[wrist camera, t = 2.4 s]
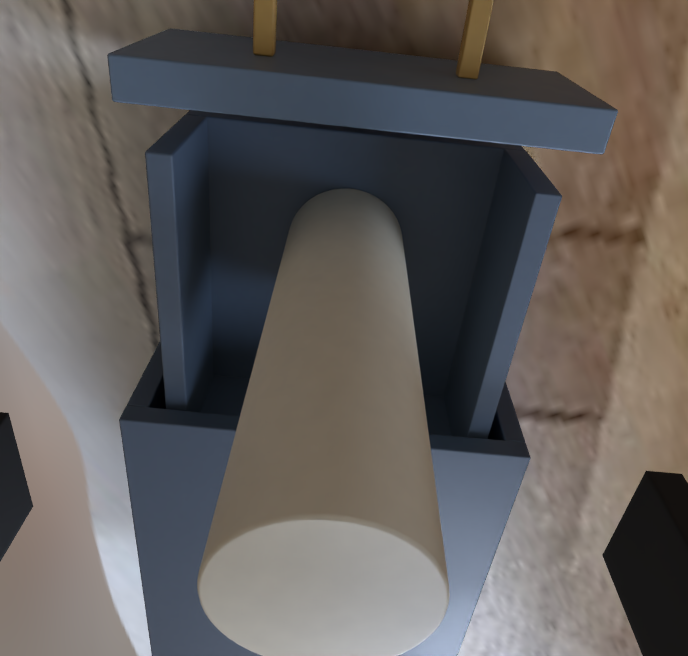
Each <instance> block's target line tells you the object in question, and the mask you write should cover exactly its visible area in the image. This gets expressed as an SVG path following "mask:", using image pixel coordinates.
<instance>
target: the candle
mask: <svg viewBox="0 0 688 656" xmlns="http://www.w3.org/2000/svg"><path fill="white" fill-rule="evenodd" d="M197 589H198V595H199V599H200V603H201V606H202V608H203V610H204V612H205V614H206V615H207V617H208V618H209V620H210V621H211V622H212V623H213V624H214V626H215V627H216V628H217V629H218V630H219V631H220V632H222V633H223V634H224V635H225V636H227V637H228V638H229V639H231V640H232V641H234V642H235V643H237V644H238V645H240V646H242V647H244V648H246V649H248V650H250V651H252V652H254V653H257V654H259V655H262V656H398V655H400V654H403V653H405V652H406V651H408V650H410V649H412V648H414V647H416V646H417V645H419V644H420V643H422V642H423V641H424V640H425V639H427V638H428V637H429V636H430V635H431V634H432V633H433V632H434V631H435V630H436V629H437V627H438V626H439V625H440V623H441V621H442V620H443V618H444V616H445V613H446V610H447V607H448V604H449V596H450V592H449V582H448V574H447V567H446V559H445V552H444V545H443V537H442V530H441V522H440V515H439V507H438V500H437V492H436V485H435V477H434V470H433V463H432V455H431V448H430V440H429V433H428V425H427V418H426V410H425V403H424V395H423V388H422V381H421V373H420V366H419V358H418V351H417V343H416V336H415V328H414V321H413V313H412V306H411V299H410V291H409V284H408V276H407V269H406V261H405V254H404V246H403V239H402V232H401V228H400V225H399V223H398V220H397V218H396V217H395V215H394V213H393V212H392V211H391V209H390V208H389V207H388V206H387V205H386V204H385V203H384V202H382V201H381V200H380V199H378V198H377V197H375V196H373V195H371V194H369V193H366V192H364V191H360V190H356V189H348V188H347V189H333V190H329V191H326V192H323V193H321V194H318V195H316V196H315V197H313V198H311V199H310V200H309V201H307V202H306V203H305V204H304V205H303V206H302V207H301V208H300V209H299V211H298V212H297V213H296V215H295V217H294V219H293V220H292V223H291V226H290V229H289V233H288V237H287V241H286V244H285V248H284V252H283V256H282V259H281V263H280V267H279V271H278V275H277V278H276V282H275V286H274V290H273V293H272V297H271V301H270V305H269V309H268V312H267V316H266V320H265V324H264V327H263V331H262V335H261V339H260V343H259V346H258V350H257V354H256V358H255V361H254V365H253V369H252V373H251V377H250V380H249V384H248V388H247V392H246V395H245V399H244V403H243V407H242V411H241V414H240V418H239V422H238V426H237V429H236V433H235V437H234V441H233V445H232V448H231V452H230V456H229V460H228V463H227V467H226V471H225V475H224V479H223V482H222V486H221V490H220V494H219V497H218V501H217V505H216V509H215V513H214V516H213V520H212V524H211V528H210V531H209V535H208V539H207V543H206V547H205V550H204V554H203V558H202V562H201V566H200V569H199V574H198V579H197Z"/></svg>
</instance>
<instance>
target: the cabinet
mask: <svg viewBox="0 0 688 656" xmlns="http://www.w3.org/2000/svg"><path fill="white" fill-rule="evenodd" d="M239 418H240V416H234V415H223V414H212V413H201V412H191V411H180V410H169V409H166V402H165V390H164V378H163V366H162V354H161V341H160V342H159V344H158V346H157V348H156V350H155V352H154V354H153V356H152V358H151V360H150V362H149V364H148V365H147V367H146V369H145V371H144V373H143V375H142V377H141V379H140V381H139V383H138V385H137V387H136V389H135V390H134V392H133V394H132V396H131V398H130V400H129V402H128V404H127V406H126V408H125V410H124V412H123V413H122V415H121V417H120V419H119V421H120V429H121V436H122V443H123V450H124V457H125V465H126V472H127V479H128V486H129V493H130V501H131V508H132V515H133V522H134V529H135V537H136V544H137V551H138V558H139V566H140V573H141V580H142V587H143V594H144V602H145V609H146V616H147V623H148V630H149V638H150V645H151V652H152V656H262V655H259V654H257V653H254V652H252V651H250V650H248V649H246V648H244V647H242V646H240V645H238V644H237V643H235V642H234V641H232V640H231V639H229V638H228V637H227V636H225V635H224V634H223V633H222V632H220V631H219V630H218V629H217V628H216V627H215V626H214V624H213V623H212V622H211V621H210V620H209V618H208V617H207V615H206V614H205V612H204V610H203V608H202V606H201V603H200V599H199V595H198V589H197V579H198V574H199V569H200V566H201V562H202V558H203V554H204V550H205V547H206V543H207V539H208V535H209V531H210V528H211V524H212V520H213V516H214V513H215V509H216V505H217V501H218V497H219V494H220V490H221V486H222V482H223V479H224V475H225V471H226V467H227V463H228V460H229V456H230V452H231V448H232V445H233V441H234V437H235V433H236V429H237V426H238V422H239ZM429 440H430V448H431V455H432V463H433V470H434V477H435V485H436V492H437V500H438V507H439V515H440V522H441V530H442V537H443V545H444V552H445V559H446V567H447V574H448V582H449V592H450V596H449V604H448V607H447V610H446V613H445V616H444V618H443V620H442V621H441V623H440V625H439V626H438V627H437V629H436V630H435V631H434V632H433V633H432V634H431V635H430V636H429V637H428V638H427V639H425V640H424V641H423V642H422V643H420V644H419V645H417V646H416V647H414V648H412V649H410V650H408V651H406V652H405V653H403V654H400V655H398V656H457V655H458V653H459V650H460V647H461V645H462V642H463V639H464V636H465V634H466V631H467V628H468V626H469V623H470V620H471V617H472V615H473V612H474V609H475V607H476V604H477V601H478V599H479V596H480V593H481V590H482V588H483V585H484V582H485V580H486V577H487V574H488V571H489V569H490V566H491V563H492V561H493V558H494V555H495V553H496V550H497V547H498V544H499V542H500V539H501V536H502V534H503V531H504V528H505V525H506V523H507V520H508V517H509V515H510V512H511V509H512V507H513V504H514V501H515V498H516V496H517V493H518V490H519V488H520V485H521V482H522V479H523V477H524V474H525V471H526V469H527V466H528V463H529V460H530V455H529V452H528V449H527V445H526V443H525V440H524V437H523V434H522V431H521V428H520V425H519V421H518V418H517V415H516V412H515V409H514V406H513V403H512V400H511V397H510V394H509V391H508V388H507V385H506V382H505V383H504V386H503V390H502V393H501V396H500V399H499V403H498V406H497V409H496V412H495V416H494V419H493V422H492V425H491V429H490V432H489V435H488V438H487V439H480V438H470V437H459V436H448V435H437V434H429Z"/></svg>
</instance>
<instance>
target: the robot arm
mask: <svg viewBox="0 0 688 656" xmlns="http://www.w3.org/2000/svg"><path fill="white" fill-rule="evenodd" d="M32 507H33V504H32V501H31V496H30V493H29V489H28V486H27V481H26V478H25V474H24V470H23V466H22V463H21V459H20V455H19V451H18V447H17V443H16V440H15V436H14V432H13V428H12V425H11V421H10V417H9V413H2V412H0V561H1V559H2V558H3V556H4V554H5V553H6V551H7V549H8V548H9V546H10V544H11V543H12V541H13V539H14V537H15V536H16V534H17V532H18V531H19V529H20V527H21V526H22V524H23V522H24V521H25V519H26V517H27V516H28V514H29V512H30V511H31V509H32ZM603 558H604V560H605V563H606V565H607V568H608V570H609V573H610V575H611V578H612V580H613V583H614V585H615V588H616V590H617V593H618V595H619V598H620V600H621V603H622V605H623V608H624V610H625V613H626V615H627V618H628V620H629V623H630V625H631V628H632V630H633V633H634V635H635V638H636V640H637V643H638V645H639V648H640V650H641V653H642V655H643V656H688V483H687V481H686V480H685V478H684V477H683V475H682V474H675V473H664V472H653V471H646V472H645V474H644V476H643V478H642V480H641V482H640V484H639V486H638V487H637V489H636V491H635V493H634V495H633V497H632V499H631V501H630V503H629V505H628V507H627V509H626V511H625V513H624V515H623V517H622V518H621V520H620V522H619V524H618V526H617V528H616V530H615V532H614V534H613V536H612V538H611V540H610V542H609V544H608V546H607V548H606V549H605V551H604V553H603Z"/></svg>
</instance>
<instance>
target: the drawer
mask: <svg viewBox="0 0 688 656" xmlns="http://www.w3.org/2000/svg"><path fill="white" fill-rule="evenodd" d="M493 2H494V0H469V4H468V9H467V14H466V20H465V25H464V30H463V36H462V41H461V47H460V52H459V57H458V61H456V60H447V59H439V58H430V57H421V56H412V55H403V54H394V53H385V52H376V51H367V50H358V49H349V48H340V47H331V46H322V45H314V44H305V43H296V42H287V41H278V40H276V23H277V0H254V12H253V38H251V37H242V36H233V35H224V34H215V33H206V32H197V31H189V30H180V29H171V28H170V29H167V30H165V31H163V32H160V33H158V34H155V35H153V36H150V37H148V38H146V39H143V40H141V41H138V42H136V43H133V44H131V45H128V46H126V47H124V48H121V49H119V50H116V51H114V52H111V53H109V54H108V66H109V75H110V84H111V94H112V100H113V101H114V102H121V103H130V104H140V105H149V106H158V107H167V108H177V109H186V110H190V111H189V112H188V113H187V114H186V115H184V116H183V117H182V118H181V119H180V120H179V121H178V122H177V123H176V124H175V125H174V126H173V127H172V128H170V129H169V130H168V131H167V132H166V133H165V134H164V135H163V136H162V137H161V138H160V139H159V140H158V141H156V142H155V143H154V144H153V145H152V146H151V147H150V148H149V149H148V150H147V151H146V152H145V158H146V170H147V182H148V195H149V207H150V219H151V231H152V243H153V256H154V268H155V280H156V292H157V305H158V317H159V329H160V341H161V354H162V366H163V378H164V390H165V402H166V409H169V410H180V411H191V412H201V413H212V414H223V415H234V416H240V414H241V411H242V407H243V403H244V399H245V395H246V392H247V388H248V384H249V380H250V377H251V373H252V369H253V365H254V361H255V358H256V354H257V350H258V346H259V343H260V339H261V335H262V331H263V327H264V324H265V320H266V316H267V312H268V309H269V305H270V301H271V297H272V293H273V290H274V286H275V282H276V278H277V275H278V271H279V267H280V263H281V259H282V256H283V252H284V248H285V244H286V241H287V237H288V233H289V229H290V226H291V223H292V220H293V219H294V217H295V215H296V213H297V212H298V211H299V209H300V208H301V207H302V206H303V205H304V204H305V203H306V202H307V201H309V200H310V199H311V198H313V197H315V196H316V195H318V194H321V193H323V192H326V191H329V190H333V189H347V188H348V189H356V190H360V191H364V192H366V193H369V194H371V195H373V196H375V197H377V198H378V199H380V200H381V201H382V202H384V203H385V204H386V205H387V206H388V207H389V208H390V209H391V211H392V212H393V213H394V215H395V217H396V218H397V220H398V223H399V225H400V228H401V232H402V239H403V246H404V254H405V261H406V269H407V276H408V284H409V291H410V299H411V306H412V313H413V321H414V328H415V336H416V343H417V351H418V358H419V366H420V373H421V381H422V388H423V395H424V403H425V410H426V418H427V425H428V433H429V434H437V435H448V436H459V437H470V438H480V439H487V438H488V435H489V432H490V429H491V425H492V422H493V419H494V416H495V412H496V409H497V406H498V403H499V399H500V396H501V393H502V390H503V386H504V383H505V380H506V377H507V373H508V370H509V367H510V364H511V360H512V357H513V354H514V351H515V347H516V344H517V341H518V338H519V334H520V331H521V328H522V325H523V322H524V318H525V315H526V312H527V309H528V305H529V302H530V299H531V296H532V292H533V289H534V286H535V283H536V279H537V276H538V273H539V270H540V266H541V263H542V260H543V257H544V253H545V250H546V247H547V244H548V240H549V237H550V234H551V231H552V227H553V224H554V221H555V218H556V214H557V211H558V208H559V205H560V201H561V198H562V195H561V194H560V193H559V191H558V190H557V189H556V188H555V186H554V185H553V184H552V183H551V181H550V180H549V179H548V178H547V176H546V175H545V174H544V173H543V172H542V170H541V169H540V168H539V167H538V165H537V164H536V163H535V162H534V160H533V159H532V158H531V157H530V155H529V154H528V153H527V152H526V151H525V150H524V149H523V147H522V146H528V147H537V148H547V149H556V150H565V151H574V152H584V153H593V154H604V152H605V149H606V146H607V143H608V140H609V137H610V134H611V131H612V128H613V125H614V122H615V119H616V116H617V113H618V110H617V109H615V108H613V107H612V106H610V105H609V104H607V103H606V102H604V101H602V100H601V99H599V98H598V97H596V96H594V95H593V94H591V93H590V92H588V91H587V90H585V89H583V88H582V87H580V86H579V85H577V84H576V83H574V82H572V81H571V80H569V79H568V78H566V77H565V76H563V75H561V74H560V73H558V72H555V71H546V70H537V69H528V68H519V67H510V66H501V65H492V64H483V63H481V61H482V56H483V51H484V46H485V41H486V36H487V32H488V27H489V22H490V17H491V12H492V7H493Z"/></svg>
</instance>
